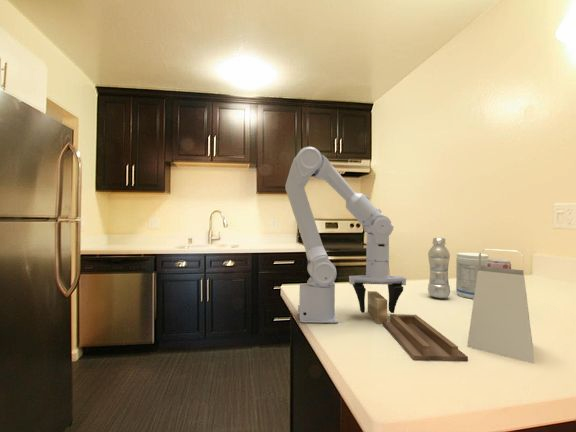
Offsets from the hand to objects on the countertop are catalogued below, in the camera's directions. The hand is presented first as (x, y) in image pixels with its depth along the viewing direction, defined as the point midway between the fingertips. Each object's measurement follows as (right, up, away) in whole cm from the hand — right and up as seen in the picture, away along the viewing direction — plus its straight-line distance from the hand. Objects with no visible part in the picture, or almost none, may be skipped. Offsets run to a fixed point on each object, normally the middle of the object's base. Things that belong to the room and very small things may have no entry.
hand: (376, 311), depth 77 cm
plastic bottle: (+27, -2, +21) cm, 34 cm away
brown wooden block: (0, -2, 0) cm, 2 cm away
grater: (+21, -2, -16) cm, 26 cm away
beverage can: (+37, -2, +7) cm, 38 cm away
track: (+5, -2, -14) cm, 15 cm away
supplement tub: (+40, -3, +24) cm, 47 cm away
